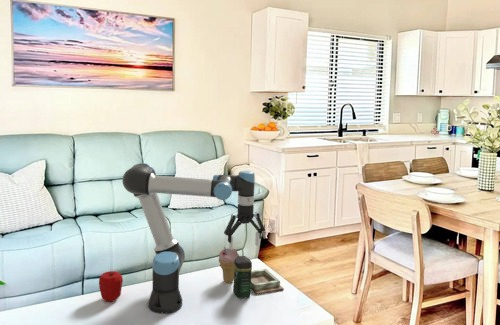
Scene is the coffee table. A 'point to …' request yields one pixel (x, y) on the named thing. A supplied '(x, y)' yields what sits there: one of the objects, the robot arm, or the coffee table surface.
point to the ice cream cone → (228, 263)
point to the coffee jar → (242, 277)
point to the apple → (110, 285)
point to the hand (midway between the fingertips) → (244, 247)
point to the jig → (264, 282)
